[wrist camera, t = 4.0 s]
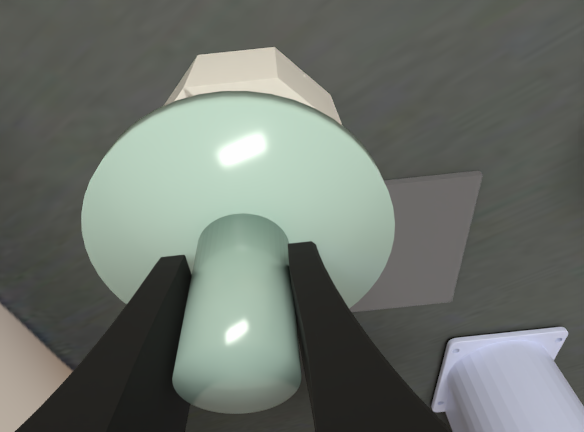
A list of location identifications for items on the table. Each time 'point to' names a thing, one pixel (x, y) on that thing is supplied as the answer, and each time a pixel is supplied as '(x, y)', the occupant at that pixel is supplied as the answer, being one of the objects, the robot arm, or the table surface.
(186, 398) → the lid
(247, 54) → the bowl
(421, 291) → the mat
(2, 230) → the table surface
